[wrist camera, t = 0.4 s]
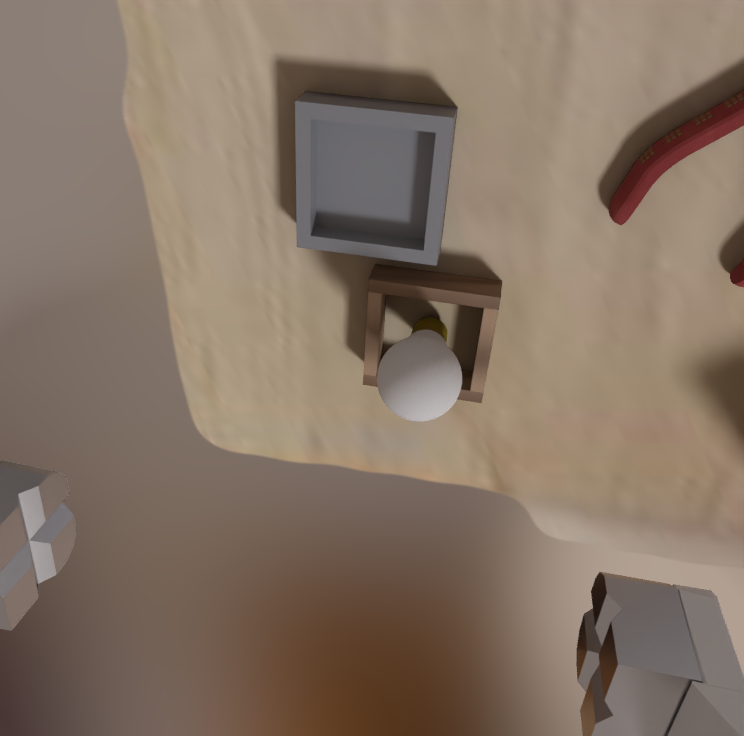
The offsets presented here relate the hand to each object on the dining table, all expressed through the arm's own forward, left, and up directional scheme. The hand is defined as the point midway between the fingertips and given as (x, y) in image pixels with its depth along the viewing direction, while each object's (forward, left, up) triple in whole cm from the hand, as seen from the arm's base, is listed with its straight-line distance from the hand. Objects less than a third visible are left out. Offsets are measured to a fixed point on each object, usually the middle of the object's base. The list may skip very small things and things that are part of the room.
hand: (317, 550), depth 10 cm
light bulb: (+20, -1, -39) cm, 44 cm away
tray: (+8, -6, -39) cm, 40 cm away
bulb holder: (+20, -1, -39) cm, 44 cm away
